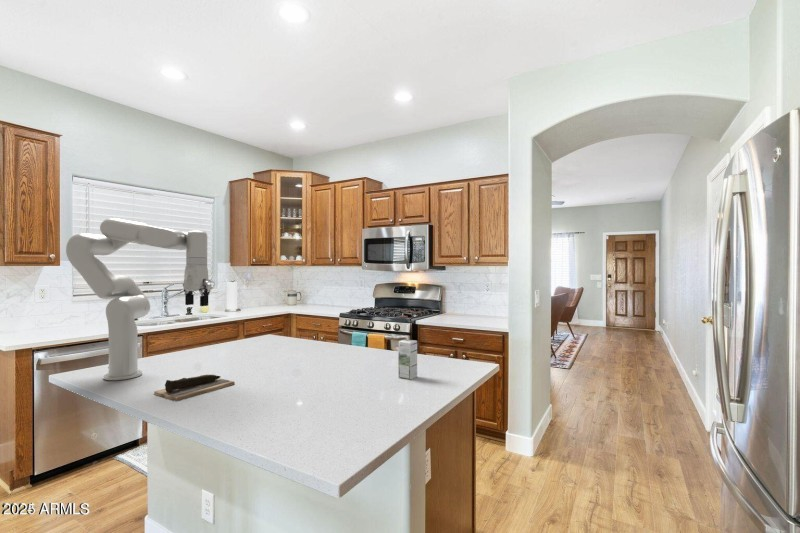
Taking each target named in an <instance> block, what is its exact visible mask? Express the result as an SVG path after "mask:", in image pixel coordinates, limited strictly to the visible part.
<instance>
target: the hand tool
mask: <svg viewBox="0 0 800 533" xmlns="http://www.w3.org/2000/svg"><path fill="white" fill-rule="evenodd" d="M219 378H221V376H220V375H216V374H202V375H199V376H191V377H188V378H187V377H182V378H179V379H175V380H170V379H167V380H165V384H164V387H165V388H164V389H166V391H167V392H171V391H173V390H176V389H182V388H186V387H190V386H195V385H199V384H203V383H209V382H212V381H215V380H217V379H219Z"/></svg>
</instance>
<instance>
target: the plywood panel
mask: <svg viewBox="0 0 800 533" xmlns="http://www.w3.org/2000/svg"><path fill="white" fill-rule="evenodd" d="M233 385H235V381H233V380H229V379H225V378H221V377H220V378H219V379H217V380H215V381H212V382H209V383H203V384H199V385H195V386H190V387H186V388H182V389H176V390H173V391H171V392H167V391H166V389H165V388H163V389H160V390H155V391H154V392H153V394H154V395H155V396H159V397H161V398H164V397H165V399H168V400H171V399H172V400H171V401H174V400H175V402H176V401H177V400H178V401H182V400H184V398H185V399H188V398H192V397H195V396H198V395H202V394H206V393H209V392H214V391H216V390H219V389H222V388H226V387H230V386H233Z"/></svg>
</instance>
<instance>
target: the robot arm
mask: <svg viewBox="0 0 800 533" xmlns="http://www.w3.org/2000/svg"><path fill="white" fill-rule="evenodd" d="M99 231H100V233H101V234H95V233H83V232H82V233H78V234H74V235H73V236H71V237H70V238H69V239H68V241H67V242H66V248H65V250H66V251H65V252H66V257H67V259H68V261H69V264H71V265H72V266H73V268H74V269H75V270H76V271H77V272H78V273H79V274H80V276H81V277H82V278H83V281H85V282H86V283H87V285H88V286H89V288H90V289H91V290H92V292H93V293H94V294H95V295H96V296H97V297H98V298H99V299H102V300H110V301H109V302H108V303H107V304H106V307H105V316H106V320H107V327H108V328H107V329H108V330H107V331H108V366H107V369H108V373H106V374H104V375H103V379H104V380H105V381H122V380H129V379H134V378H137V377H139V376H142V374H143V371H142V370H140V369H138V363H139V362H138V360H139V359H138V351H139V350H138V348H139V347H138V334H139V333H138V326H137V323H136V322H135V319H140V318H144V317H146V316H147V315H148V314H149V313H150V311H151V303H150V300H149V299H148V297H147V296H146V295H145V294H144V292H143V291H142V290H141V288H140V286H138V285H137V283H136V282H135V281H134V280H133V279H132V278H131V277H130V276H127V275H124V274H113V273H112V272H111V271H110V270H109V269H108V268H107V266H106V264H104V262H102V261H101V260H100V259H98V258H97V257H96V256H108V255H111V254H113V253H116V252H117V251H118V250H120V249H122V248H123V247H125V246H126V245H128V244H129V243H132V244H137V245H146V246H150V247H155V248H161V249H166V250H179V251H183V250H185V257H186V258H185V262H186V263H185V269H184V274H183V283H182V287H183V291H184V295H185V296H184V297H185V299H184V300H185V302H184V303H185V306H189V305H190V306H191V305H194V302H195V301H194V300H195V299H194V298H195V297H194V296H195V295H194V292H199V293H200V296H199V306H200V307H208V306H209V296H210V292H211V289H212V284H211V283H210V281H209V269H208V233H207V232H206V231H202V230H189V231H182V230H177V229H170V228H164V227H158V226H153V225H148V223H145V222H140V221H132V220H128V219H123V218H122V219H121V218H116V217H113V218H112V217H111V218H106V219H104V220H103V221H102V222H101V223H100V225H99Z"/></svg>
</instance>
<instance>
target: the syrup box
mask: <svg viewBox="0 0 800 533" xmlns="http://www.w3.org/2000/svg"><path fill="white" fill-rule="evenodd" d="M397 342H398V343H397V344H398V349H397V350H398V353H397V354H398V359H397V360H398V361H397V363H398V378H400V379H405V380H413V379H415V378H417V377H418V340H415V339H414V340H413V339H401V340H399V341H397Z"/></svg>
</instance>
